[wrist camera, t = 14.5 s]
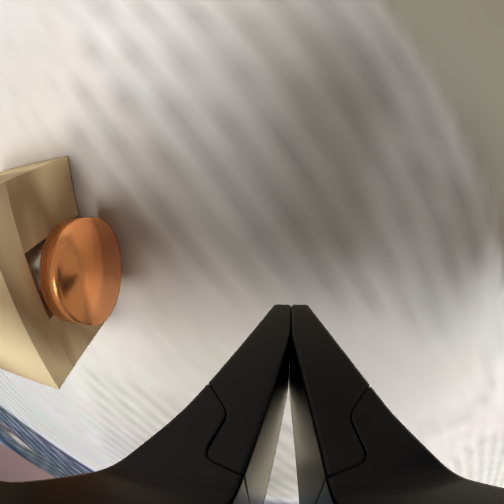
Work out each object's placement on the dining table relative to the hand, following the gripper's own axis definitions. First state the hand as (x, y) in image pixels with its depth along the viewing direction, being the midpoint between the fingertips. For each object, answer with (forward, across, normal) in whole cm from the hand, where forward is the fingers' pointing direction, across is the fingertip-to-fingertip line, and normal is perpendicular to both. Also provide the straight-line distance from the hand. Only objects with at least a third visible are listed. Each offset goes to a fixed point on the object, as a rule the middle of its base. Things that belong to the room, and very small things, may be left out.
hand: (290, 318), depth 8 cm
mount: (+5, +12, 0) cm, 13 cm away
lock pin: (+5, +15, 0) cm, 15 cm away
